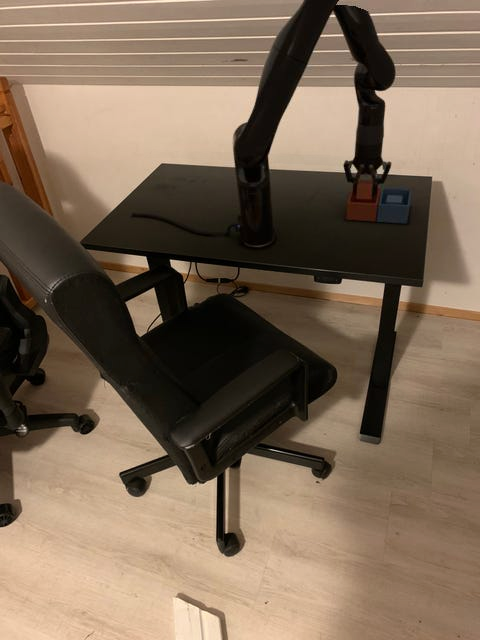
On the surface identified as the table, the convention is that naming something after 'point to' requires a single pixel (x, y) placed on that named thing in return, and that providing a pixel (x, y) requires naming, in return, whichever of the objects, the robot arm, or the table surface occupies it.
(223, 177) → the table surface
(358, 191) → the terracotta block
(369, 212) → the terracotta bin
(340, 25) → the robot arm
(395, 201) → the blue block
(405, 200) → the blue bin
